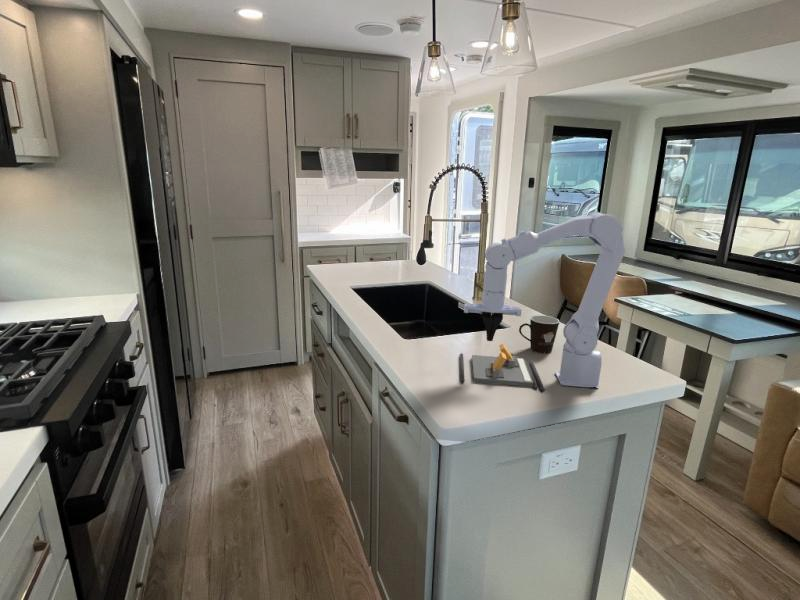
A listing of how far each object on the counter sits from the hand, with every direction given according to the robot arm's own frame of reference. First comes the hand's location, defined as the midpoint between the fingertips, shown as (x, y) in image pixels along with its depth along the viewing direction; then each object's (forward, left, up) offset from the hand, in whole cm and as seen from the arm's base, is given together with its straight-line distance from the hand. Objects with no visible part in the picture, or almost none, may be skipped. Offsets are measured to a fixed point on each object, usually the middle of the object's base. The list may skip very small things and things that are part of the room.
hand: (489, 339), depth 122 cm
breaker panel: (-4, -2, -10) cm, 11 cm away
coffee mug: (-17, -22, -10) cm, 30 cm away
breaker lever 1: (-7, -6, -7) cm, 12 cm away
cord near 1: (-14, -1, -10) cm, 17 cm away
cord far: (+6, -2, -10) cm, 12 cm away
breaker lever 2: (-2, +2, -7) cm, 8 cm away
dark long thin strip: (-12, -1, -10) cm, 16 cm away
